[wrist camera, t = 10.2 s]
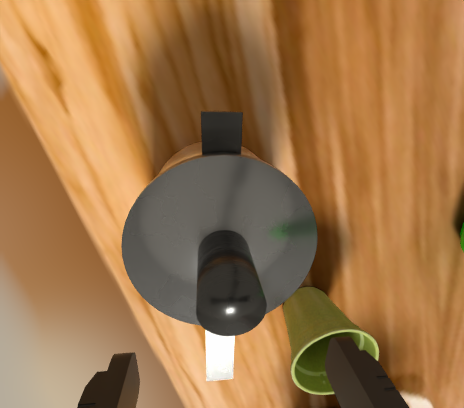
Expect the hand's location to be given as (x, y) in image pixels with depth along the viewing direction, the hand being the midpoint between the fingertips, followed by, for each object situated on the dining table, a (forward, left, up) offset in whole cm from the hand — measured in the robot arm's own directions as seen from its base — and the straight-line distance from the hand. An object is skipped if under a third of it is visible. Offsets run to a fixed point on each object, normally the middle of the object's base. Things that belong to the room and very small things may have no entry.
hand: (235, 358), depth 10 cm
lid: (0, 0, -9) cm, 9 cm away
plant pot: (+15, +12, -18) cm, 27 cm away
